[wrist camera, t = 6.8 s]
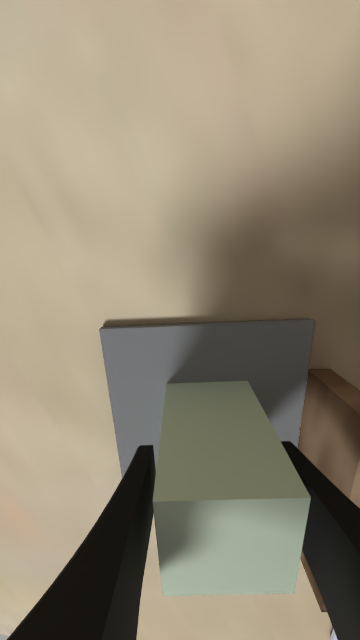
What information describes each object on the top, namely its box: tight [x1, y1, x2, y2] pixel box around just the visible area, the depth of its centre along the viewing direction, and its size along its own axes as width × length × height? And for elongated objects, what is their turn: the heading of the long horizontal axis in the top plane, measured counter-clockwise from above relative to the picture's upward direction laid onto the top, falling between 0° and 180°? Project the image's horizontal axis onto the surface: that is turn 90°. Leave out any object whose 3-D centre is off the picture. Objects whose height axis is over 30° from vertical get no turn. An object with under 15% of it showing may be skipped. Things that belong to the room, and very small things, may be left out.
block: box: [153, 381, 311, 596], centre depth 10 cm, size 4×4×6 cm
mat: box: [99, 319, 315, 478], centre depth 13 cm, size 11×11×1 cm
